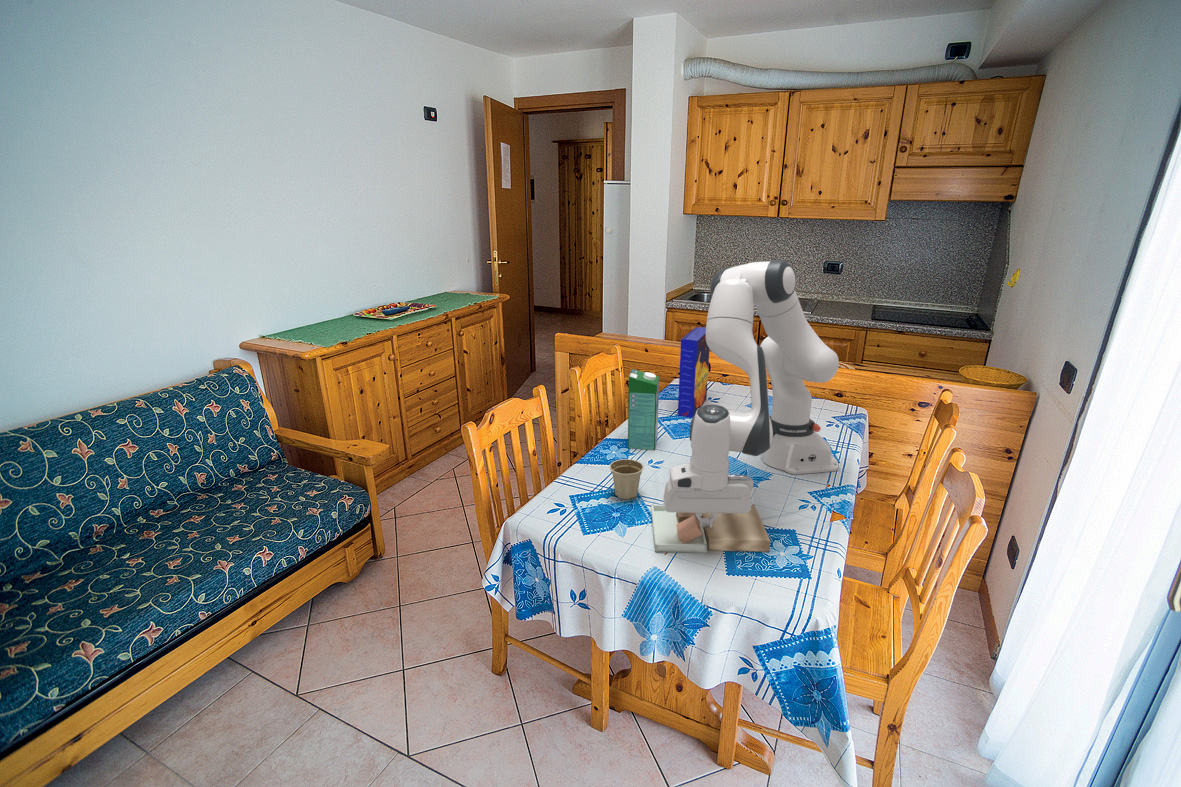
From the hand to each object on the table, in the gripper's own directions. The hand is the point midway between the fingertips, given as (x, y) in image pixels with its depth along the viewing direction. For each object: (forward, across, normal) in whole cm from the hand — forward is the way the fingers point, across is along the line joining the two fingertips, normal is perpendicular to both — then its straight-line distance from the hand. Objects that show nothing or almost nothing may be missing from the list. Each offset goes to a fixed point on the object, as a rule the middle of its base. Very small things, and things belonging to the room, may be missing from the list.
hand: (705, 526), depth 133 cm
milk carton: (+4, +12, -56) cm, 58 cm away
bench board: (+4, -7, -4) cm, 9 cm away
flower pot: (+4, +18, -22) cm, 29 cm away
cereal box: (+4, -8, -91) cm, 92 cm away
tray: (+4, +6, -4) cm, 8 cm away
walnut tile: (+3, +3, -8) cm, 9 cm away
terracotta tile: (+2, +3, 0) cm, 4 cm away
